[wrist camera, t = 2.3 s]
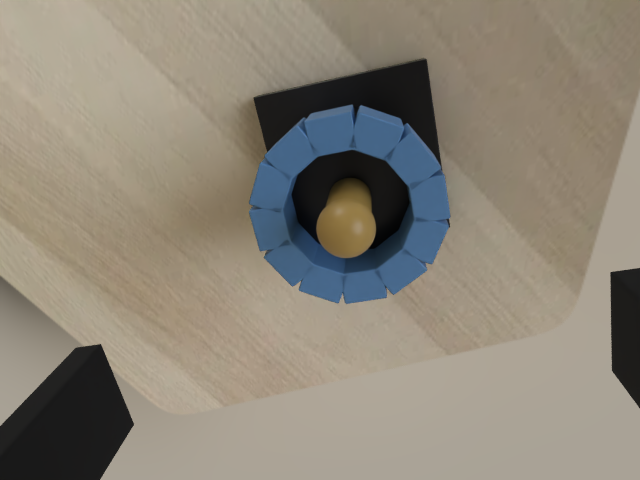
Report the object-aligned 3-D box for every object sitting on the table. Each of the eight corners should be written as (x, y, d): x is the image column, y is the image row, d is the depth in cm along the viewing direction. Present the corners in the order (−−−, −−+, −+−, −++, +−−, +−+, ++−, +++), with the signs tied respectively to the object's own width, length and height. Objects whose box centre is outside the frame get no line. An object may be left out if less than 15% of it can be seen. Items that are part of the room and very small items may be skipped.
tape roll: (426, 88, 26) (433, 93, 23) (451, 264, 29) (460, 287, 27) (241, 128, 28) (227, 137, 25) (285, 290, 31) (277, 315, 28)
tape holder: (424, 58, 35) (466, 70, 20) (447, 220, 39) (496, 335, 24) (257, 95, 37) (178, 133, 22) (295, 247, 41) (251, 368, 26)
